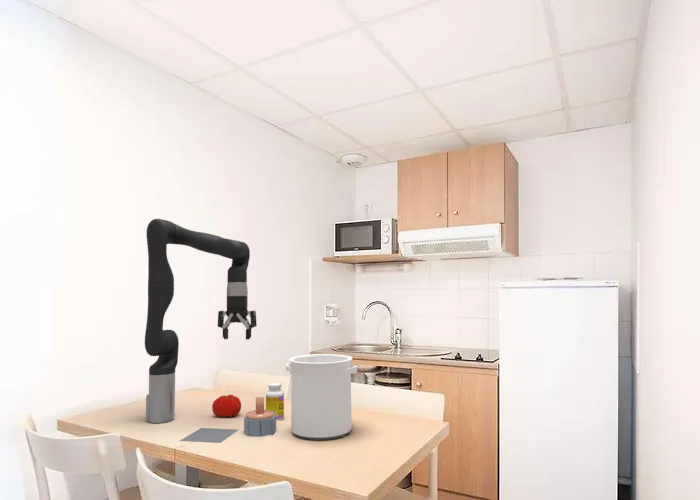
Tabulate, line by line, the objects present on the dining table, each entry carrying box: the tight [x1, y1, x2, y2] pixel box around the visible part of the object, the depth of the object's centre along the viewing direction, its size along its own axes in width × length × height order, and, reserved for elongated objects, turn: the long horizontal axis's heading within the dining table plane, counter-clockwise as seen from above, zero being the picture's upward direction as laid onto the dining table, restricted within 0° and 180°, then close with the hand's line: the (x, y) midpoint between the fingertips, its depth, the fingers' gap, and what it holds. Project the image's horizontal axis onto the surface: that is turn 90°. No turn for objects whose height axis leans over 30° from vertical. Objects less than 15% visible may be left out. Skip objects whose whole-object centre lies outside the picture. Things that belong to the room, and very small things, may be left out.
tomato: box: [211, 394, 242, 419], centre depth 184 cm, size 11×11×8 cm
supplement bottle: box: [265, 382, 285, 421], centre depth 178 cm, size 7×7×13 cm
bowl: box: [243, 414, 277, 437], centre depth 161 cm, size 10×10×6 cm
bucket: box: [285, 353, 358, 441], centre depth 163 cm, size 26×22×24 cm
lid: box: [245, 396, 273, 420], centre depth 162 cm, size 9×9×6 cm
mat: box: [179, 427, 239, 444], centre depth 158 cm, size 14×14×1 cm
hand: (236, 339), depth 176 cm, fingers open, 8 cm apart
